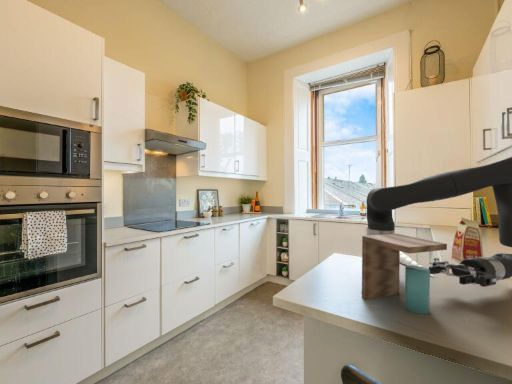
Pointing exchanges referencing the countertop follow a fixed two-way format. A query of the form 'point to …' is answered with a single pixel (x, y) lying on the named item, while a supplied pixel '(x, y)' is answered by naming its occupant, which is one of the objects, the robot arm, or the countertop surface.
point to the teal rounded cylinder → (417, 289)
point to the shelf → (388, 261)
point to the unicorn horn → (408, 261)
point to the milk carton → (467, 241)
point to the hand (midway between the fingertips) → (444, 275)
